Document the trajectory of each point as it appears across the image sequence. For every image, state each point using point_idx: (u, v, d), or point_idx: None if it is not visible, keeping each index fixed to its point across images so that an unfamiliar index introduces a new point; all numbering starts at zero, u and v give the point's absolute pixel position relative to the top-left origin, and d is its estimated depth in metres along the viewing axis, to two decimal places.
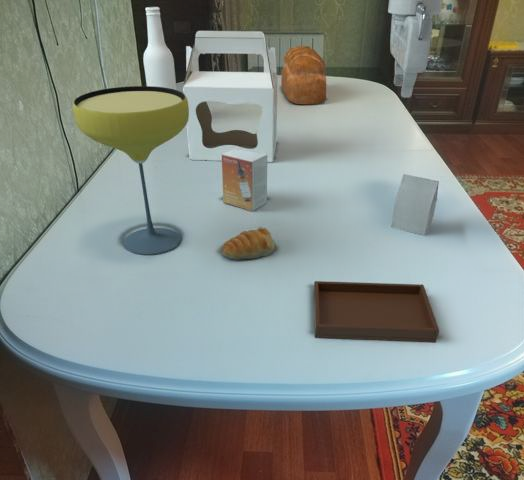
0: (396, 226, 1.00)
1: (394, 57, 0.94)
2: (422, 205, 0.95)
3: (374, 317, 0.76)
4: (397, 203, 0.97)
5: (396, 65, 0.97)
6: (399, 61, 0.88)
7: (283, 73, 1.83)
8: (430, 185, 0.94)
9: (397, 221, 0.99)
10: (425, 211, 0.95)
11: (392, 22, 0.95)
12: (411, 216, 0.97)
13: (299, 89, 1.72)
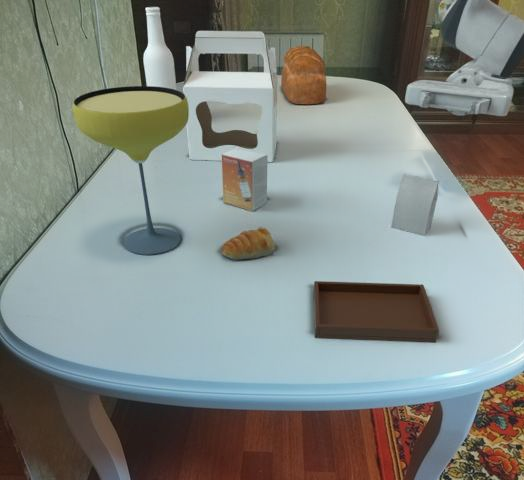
0: (396, 226, 1.00)
1: (470, 112, 0.99)
2: (422, 205, 0.95)
3: (374, 317, 0.76)
4: (397, 203, 0.97)
5: None
6: (435, 107, 1.02)
7: (283, 73, 1.83)
8: (430, 185, 0.94)
9: (397, 221, 0.99)
10: (425, 211, 0.95)
11: None
12: (411, 216, 0.97)
13: (299, 89, 1.72)
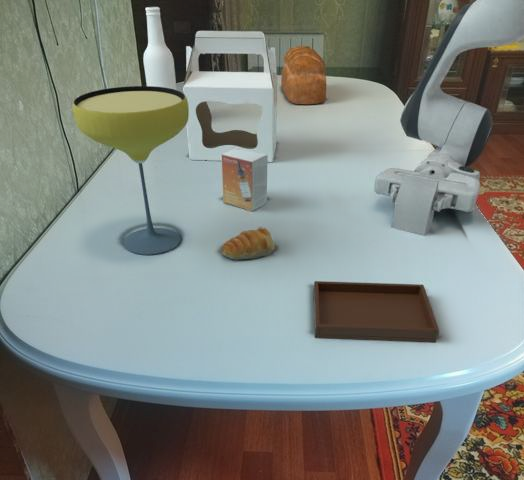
0: (396, 226, 1.00)
1: None
2: (422, 205, 0.95)
3: (374, 317, 0.76)
4: (397, 203, 0.97)
5: None
6: None
7: (283, 73, 1.83)
8: (430, 185, 0.94)
9: (397, 221, 0.99)
10: (425, 211, 0.95)
11: None
12: (411, 216, 0.97)
13: (299, 89, 1.72)
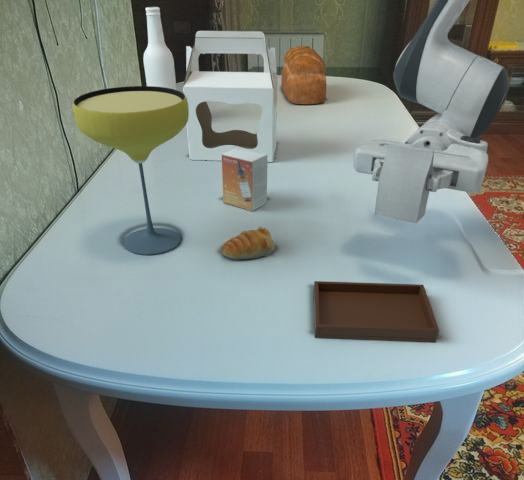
0: (381, 212, 0.78)
1: None
2: (413, 183, 0.73)
3: (374, 317, 0.76)
4: (381, 182, 0.76)
5: None
6: None
7: (283, 73, 1.83)
8: (423, 157, 0.72)
9: (381, 206, 0.78)
10: (416, 191, 0.73)
11: None
12: (399, 198, 0.75)
13: (299, 89, 1.72)
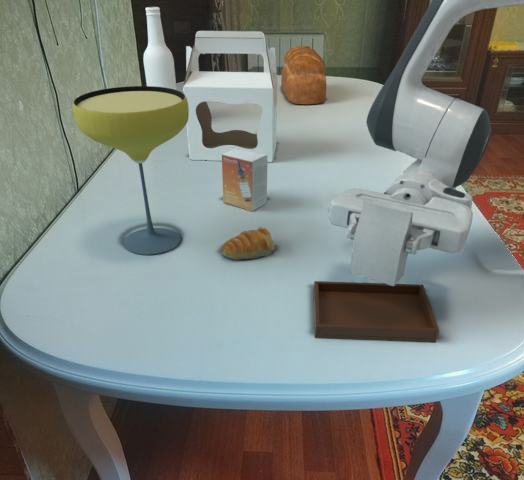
0: (356, 271, 0.72)
1: None
2: (390, 245, 0.67)
3: (374, 317, 0.76)
4: (356, 241, 0.69)
5: None
6: None
7: (283, 73, 1.83)
8: (401, 218, 0.66)
9: (356, 265, 0.72)
10: (394, 254, 0.67)
11: None
12: (376, 259, 0.69)
13: (299, 89, 1.72)
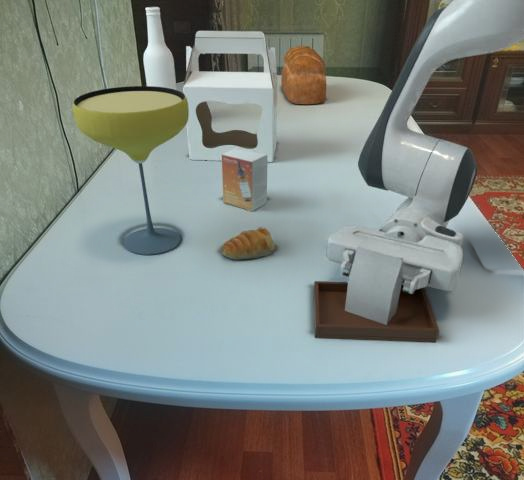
0: (351, 310, 0.76)
1: None
2: (382, 288, 0.71)
3: None
4: (350, 283, 0.74)
5: None
6: None
7: (283, 73, 1.83)
8: (392, 263, 0.70)
9: (351, 304, 0.76)
10: (386, 295, 0.71)
11: None
12: (369, 300, 0.73)
13: (299, 89, 1.72)
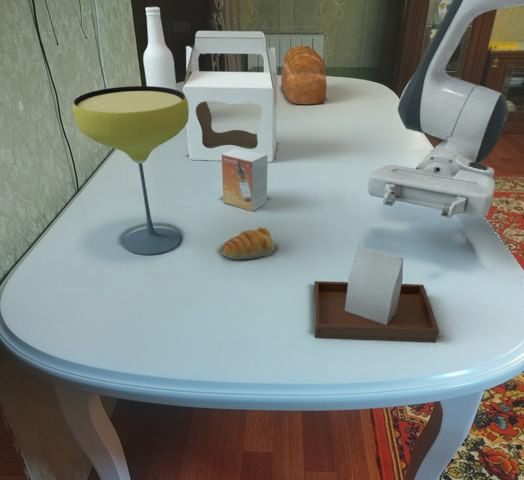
0: (351, 310, 0.76)
1: None
2: (382, 288, 0.71)
3: None
4: (350, 283, 0.74)
5: None
6: None
7: (283, 73, 1.83)
8: (392, 263, 0.70)
9: (351, 304, 0.76)
10: (386, 295, 0.71)
11: None
12: (369, 300, 0.73)
13: (299, 89, 1.72)
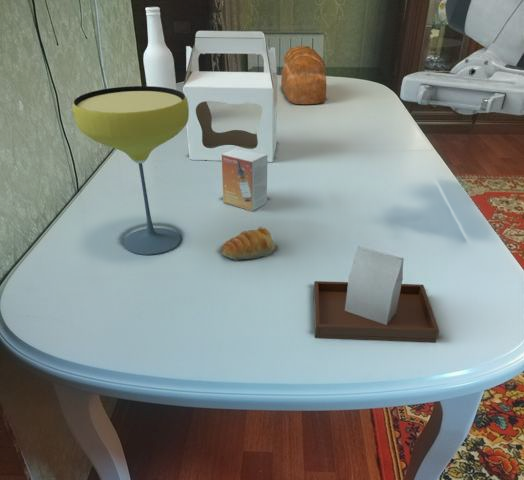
0: (351, 310, 0.76)
1: None
2: (382, 288, 0.71)
3: None
4: (350, 283, 0.74)
5: None
6: (436, 104, 0.84)
7: (283, 73, 1.83)
8: (392, 263, 0.70)
9: (351, 304, 0.76)
10: (386, 295, 0.71)
11: None
12: (369, 300, 0.73)
13: (299, 89, 1.72)
